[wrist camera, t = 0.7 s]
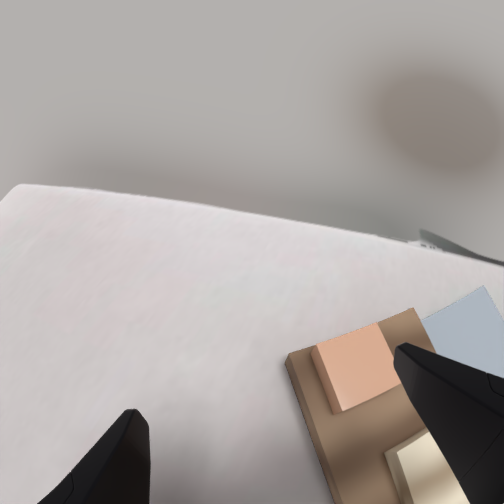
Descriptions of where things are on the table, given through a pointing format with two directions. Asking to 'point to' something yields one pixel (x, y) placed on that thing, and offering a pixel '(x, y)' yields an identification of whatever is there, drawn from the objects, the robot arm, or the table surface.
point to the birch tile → (423, 472)
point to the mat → (470, 332)
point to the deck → (360, 422)
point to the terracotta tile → (355, 367)
